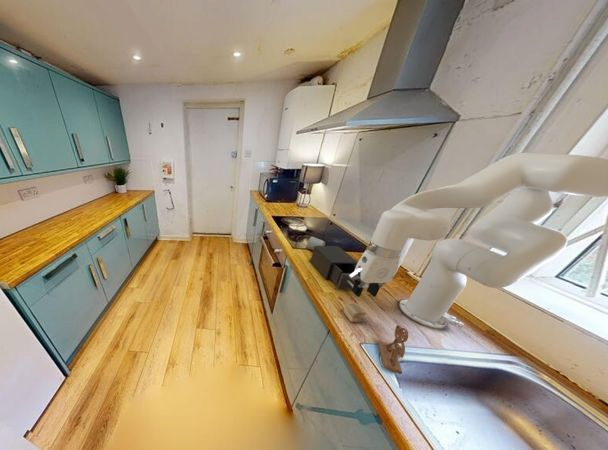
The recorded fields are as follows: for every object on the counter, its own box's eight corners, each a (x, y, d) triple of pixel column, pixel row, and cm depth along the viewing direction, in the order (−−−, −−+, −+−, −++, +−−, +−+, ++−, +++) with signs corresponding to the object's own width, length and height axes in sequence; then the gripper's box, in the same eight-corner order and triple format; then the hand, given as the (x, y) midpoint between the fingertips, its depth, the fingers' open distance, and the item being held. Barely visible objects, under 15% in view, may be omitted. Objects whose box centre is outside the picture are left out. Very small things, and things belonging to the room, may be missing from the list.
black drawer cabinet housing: (351, 279, 93) (358, 262, 89) (325, 279, 93) (331, 262, 89) (332, 261, 107) (338, 245, 103) (310, 261, 106) (314, 245, 102)
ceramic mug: (320, 255, 112) (324, 243, 108) (305, 250, 116) (308, 238, 113) (324, 248, 119) (327, 236, 116) (309, 243, 124) (312, 232, 121)
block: (354, 311, 76) (357, 303, 74) (362, 321, 72) (366, 312, 70) (342, 311, 76) (346, 303, 74) (350, 321, 72) (354, 313, 70)
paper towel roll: (386, 277, 95) (406, 238, 86) (375, 269, 101) (393, 232, 92) (400, 276, 96) (421, 238, 87) (388, 269, 101) (407, 232, 92)
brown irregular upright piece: (401, 374, 56) (421, 347, 51) (384, 367, 57) (402, 340, 52) (392, 347, 63) (409, 321, 58) (377, 342, 65) (392, 316, 60)
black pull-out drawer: (372, 297, 81) (379, 282, 78) (345, 297, 81) (351, 283, 78) (342, 270, 98) (347, 256, 95) (320, 270, 98) (324, 256, 94)
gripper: (366, 256, 58) (346, 302, 65) (421, 256, 58) (395, 301, 66) (349, 243, 64) (333, 286, 72) (398, 243, 65) (377, 286, 73)
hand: (363, 293), depth 69 cm, fingers open, 4 cm apart
